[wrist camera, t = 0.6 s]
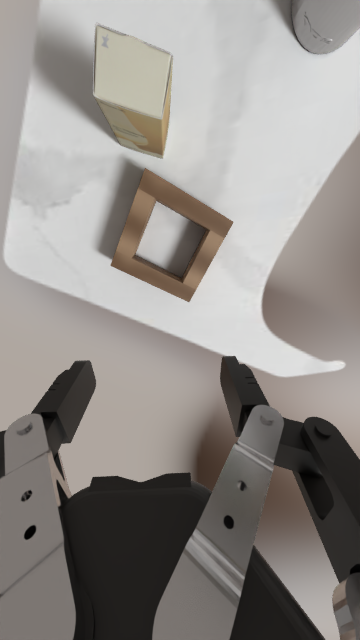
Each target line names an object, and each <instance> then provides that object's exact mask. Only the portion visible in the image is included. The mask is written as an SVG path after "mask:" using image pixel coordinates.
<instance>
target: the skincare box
mask: <svg viewBox="0 0 360 640" xmlns="http://www.w3.org/2000/svg"><path fill="white" fill-rule="evenodd" d="M172 64H173V55H172V54H171V53H170V52H168V51H165V50H163V49H161V48H158V47H156V46H153V45H151V44H148V43H146V42H144V41H142V40H140V39H137V38H135V37H132V36H129V35H126V34H123V33H121V32H119V31H116V30H113V29H111V28H109V27H106V26H103V25H101V24H99V23H96V24H95V38H94V59H93V96H94V97H95V99H96V101H97V103H98V105H99V106H100V108H101V110H102V112H103V114H104V116H105V117H106V119H107V121H108V123H109V125H110V127H111V128H112V130H113V132H114V134H115V136H116V138H117V139H118V141H119V143H120V145H121V146H124V147H126V148H129V149H132V150H135V151H138V152H141V153H144V154H148V155H151V156H155V157H158V158H163V156H164V151H165V145H166V140H167V134H168V128H169V117H170V99H171V81H172Z"/></svg>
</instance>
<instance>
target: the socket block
mask: <svg viewBox="0 0 360 640" xmlns="http://www.w3.org/2000/svg"><path fill="white" fill-rule="evenodd" d="M156 201H158V202H160V203H161V204H163V205H165V206H167V207H168V208H170V209H172V210H174V211H175V212H177V213H179V214H180V215H182V216H184V217H186V218H187V219H189V220H191V221H193V222H194V223H196V224H198V225H200V226H201V227H203V228H205V229H206V232H205V234H204V235H203V237H202V239H201V241H200V243H199V245H198V247H197V249H196V251H195V253H194V255H193V257H192V259H191V261H190V263H189V265H188V267H187V269H186V271H185V273H184V275H183V277H182V278H181V277H179V276H176V275H174V274H172V273H170V272H168V271H166V270H164V269H162V268H160V267H158V266H156V265H154V264H152V263H150V262H148V261H146V260H144V259H142V258H140V257H138V256H136V255H135V254H136V251H137V249H138V246H139V244H140V241H141V238H142V236H143V233H144V231H145V228H146V226H147V223H148V221H149V218H150V216H151V213H152V211H153V208H154V206H155V203H156ZM232 224H233V221H231V220H229V219H228V218H226V217H225V216H223V215H221V214H220V213H218V212H216V211H215V210H213V209H211V208H210V207H208V206H207V205H205V204H203V203H202V202H200V201H198V200H197V199H195V198H193V197H192V196H190V195H189V194H187V193H185V192H184V191H182V190H180V189H179V188H177V187H175V186H174V185H172V184H171V183H169V182H167V181H166V180H164V179H162V178H161V177H159V176H157V175H156V174H154V173H153V172H151V171H149V170H148V169H146V168H145V170H144V172H143V175H142V178H141V181H140V184H139V187H138V189H137V192H136V195H135V198H134V201H133V204H132V206H131V209H130V212H129V215H128V218H127V221H126V223H125V226H124V229H123V232H122V235H121V238H120V240H119V243H118V246H117V249H116V252H115V255H114V257H113V260H112V263H111V266H112V267H115V268H117V269H119V270H121V271H123V272H125V273H127V274H130V275H132V276H134V277H136V278H138V279H140V280H142V281H145V282H147V283H149V284H151V285H153V286H155V287H158V288H160V289H162V290H164V291H166V292H168V293H170V294H173V295H175V296H177V297H179V298H181V299H183V300H185V301H188V302H189V301H190V300H191V298H192V296H193V294H194V292H195V291H196V289H197V287H198V285H199V283H200V282H201V280H202V278H203V276H204V274H205V273H206V271H207V269H208V267H209V265H210V264H211V262H212V260H213V258H214V256H215V255H216V253H217V251H218V249H219V247H220V246H221V244H222V242H223V240H224V238H225V237H226V235H227V233H228V231H229V229H230V228H231V226H232Z"/></svg>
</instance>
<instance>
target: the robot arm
mask: <svg viewBox="0 0 360 640" xmlns="http://www.w3.org/2000/svg"><path fill="white" fill-rule="evenodd" d="M291 10H292V22H293V26H294V30H295V33H296V35H297V37H298V40H299V41H300V43H301V44H302V45H303V47H304V48H306V49H307V50H308V51H310V52H312V53H315V54H327V53H330V52H332V51H335V50H336V49H338V48H339V47H341V46H342V45H343V44H344V43H345V42H346V41H347V40H348V39H349V38H350V37H351V36H352V35H353V34H354V33H355V32H356V31H357V30H358V29H359V28H360V0H292V7H291ZM220 382H221V387H222V390H223V394H224V397H225V401H226V404H227V408H228V411H229V414H230V418H231V421H232V424H233V428H234V431H235V435H236V437H240V438H239V440H238V442H237V443H235V444H234V446H233V448H232V450H231V452H230V455H229V457H228V459H227V461H226V463H225V466H224V468H223V470H222V472H221V474H220V476H219V479H218V481H217V483H216V485H215V488H214V489H213V492H211V491H210V490H209V489H208V488H206V487H205V486H203V485H201V484H199V483H197V482H194V481H191V476H190V473H171V474H164V475H161V476H159V477H156V478H153V479H150V480H147V481H144V482H137V481H133V480H129V479H126V478H122V477H119V476H107V477H93V478H92V481H91V484H90V486H89V487H87V488H85V489H82V490H81V491H79V492H77V493H76V494H74V495H73V496H72V495H71V492H70V490H69V487H68V484H67V480H66V476H65V472H64V468H63V464H62V460H61V457H60V453H59V451H58V450H59V448H60V446H61V444H64V443H71V441H72V439H73V437H74V434H75V432H76V430H77V428H78V426H79V423H80V421H81V419H82V417H83V415H84V412H85V410H86V408H87V406H88V404H89V401H90V399H91V397H92V395H93V393H94V390H95V387H96V379H95V376H94V372H93V368H92V365H91V362H90V361H75V362H74V363H73V365H72V366H71V368H70V369H69V370H65V371H64V372H63V373H61V374H60V375H59V376H58V377H57V378H56V380H55V381H54V382H53V385H51V386H50V388H49V389H48V391H47V392H46V393H45V395H44V396H43V397H42V399H41V400H40V402H39V403H38V405H37V406H36V407H35V409H34V410H33V411H32V413H31V414H28V415H25V416H23V417H21V418H19V419H18V420H16V421H15V422H13V423H12V424H11V425H10V426H9V428H8V429H7V430H5V431H2V432H0V640H325V638H324V637H323V636H322V634H321V633H320V632H319V630H318V629H317V628H316V626H315V625H314V624H313V622H312V621H311V620H310V619H309V617H308V616H307V614H306V613H305V612H304V610H303V609H302V608H301V607H300V605H299V604H298V603H297V601H296V600H295V599H294V597H293V596H292V595H291V593H290V592H289V591H288V589H287V588H286V587H285V585H284V584H283V583H282V581H281V580H280V579H279V578H278V576H277V575H276V574H275V572H274V571H273V570H272V568H271V567H270V566H269V564H268V563H267V562H266V560H265V559H264V558H263V556H262V555H261V554H260V552H259V551H258V550H257V549H256V547H255V546H254V545H253V544H254V540H255V536H256V532H257V529H258V525H259V521H260V517H261V513H262V509H263V505H264V502H265V498H266V494H267V490H268V487H269V483H270V479H271V475H272V471H273V467H274V465H277V466H279V467H283V468H286V469H289V470H292V471H293V474H294V476H295V478H296V481H297V483H298V486H299V488H300V490H301V492H302V495H303V498H304V500H305V502H306V505H307V507H308V510H309V512H310V514H311V516H312V519H313V521H314V524H315V526H316V529H317V531H318V533H319V536H320V538H321V540H322V543H323V545H324V548H325V550H326V552H327V555H328V557H329V559H330V562H331V564H332V567H333V569H334V572H335V574H336V576H337V579H338V581H339V583H340V584H339V585H338V586H336V588H335V590H334V592H333V598H332V601H333V610H334V614H335V618H336V621H337V625H338V629H339V633H340V640H360V460H359V458H358V457H357V455H356V454H355V453H354V451H353V450H352V449H351V447H350V446H349V444H348V443H347V441H346V440H345V439H344V437H343V436H342V435H341V433H340V432H339V430H338V429H337V428H336V427H335V426H333V425H332V424H331V423H330V422H328V421H326V420H324V419H322V418H318V417H309V418H307V419H306V420H305V422H304V423H302V422H298V421H293V420H289V419H286V418H284V417H282V416H281V414H280V413H279V412H278V411H277V410H275V409H274V408H272V407H270V406H269V404H268V402H267V400H266V398H265V396H264V394H263V392H262V390H261V388H260V387H259V384H258V383H257V381H256V379H255V377H254V375H253V373H252V371H251V369H249V368H248V367H247V366H246V365H245V364H239V363H238V360H237V358H236V357H235V356H223V357H222V363H221V373H220Z"/></svg>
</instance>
